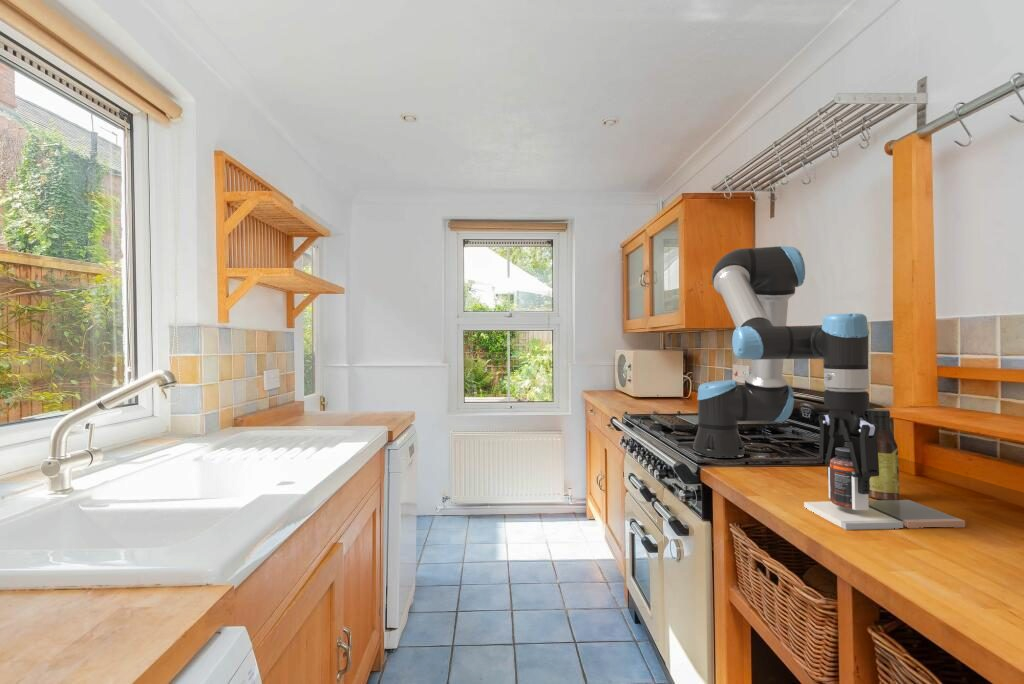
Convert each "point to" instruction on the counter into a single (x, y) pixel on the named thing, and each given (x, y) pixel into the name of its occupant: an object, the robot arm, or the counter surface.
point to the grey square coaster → (915, 514)
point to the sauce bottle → (885, 458)
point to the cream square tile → (853, 517)
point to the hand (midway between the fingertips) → (847, 503)
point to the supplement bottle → (841, 478)
